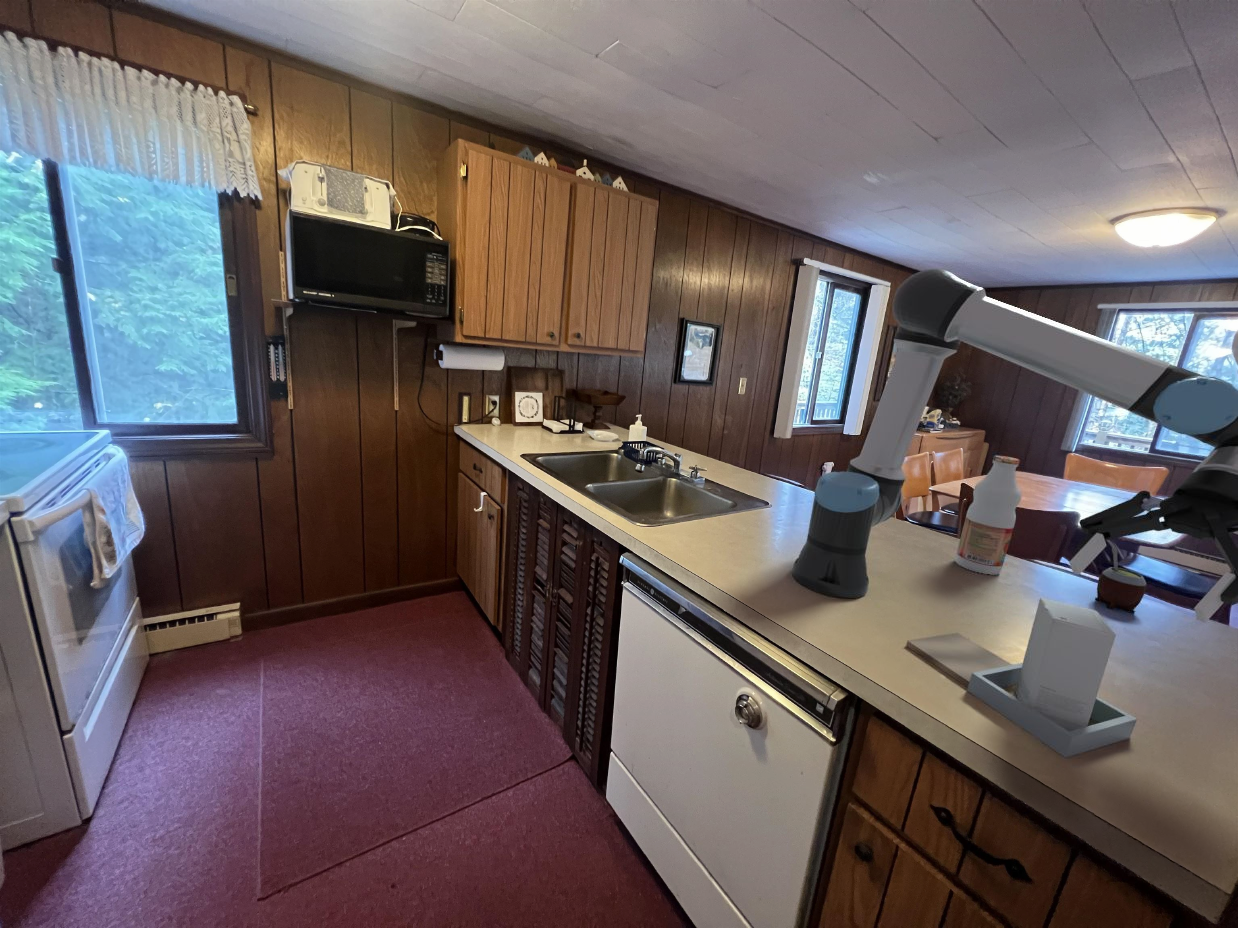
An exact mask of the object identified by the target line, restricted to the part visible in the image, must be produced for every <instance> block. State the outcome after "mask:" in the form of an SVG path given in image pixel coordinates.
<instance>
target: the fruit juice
mask: <svg viewBox="0 0 1238 928" xmlns="http://www.w3.org/2000/svg"><path fill="white" fill-rule="evenodd" d="M992 464H993V465H992V466H991V469H990V470H989V471H988V472H987V474H986V476H985V477H984V478H983V479H981V480H979V481H978V482H977V483H976V484H975V486H974V488H973V500H972V503H970V505H969V507H968V509H967V511H966V516H965V519H964V524H963V527H962V531H961V535H960V539H959V541H958V545H957V550H956V554H955V559H954V560H955V563H956V564H957V565H958V566H960V565H961V566H962V567H961V566H960V567H961V568H963V567H964V569H965V568H966V569H965V570H968V569H969V570H968V571H971V570H972V572H974V571H975V572H974V573H977V572H979V574H981V573H983V574H982V575H987V574H990V575H989V576H995V575H999V574H1000V573H1001V572H1002V570H1003V567H1004V563H1005V559H1006V557H1007V551H1008V549H1009V545H1010V542H1011V538H1012V534H1013V531H1014V528H1015V524H1016V520H1017V515H1016V509H1017V507H1018V505H1019V504H1020V502H1021V500H1022V491H1021V489H1020V488H1019V485H1018V484H1017V479H1016V478H1017V477H1016V470H1017V467H1019V465H1020V459H1018V458H1015V457H1011V456H1005V455H993V458H992Z"/></svg>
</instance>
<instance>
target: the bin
mask: <svg viewBox="0 0 1238 928" xmlns="http://www.w3.org/2000/svg"><path fill="white" fill-rule="evenodd" d="M1022 664H1023V662H1020V663H1015V664H1012V665H1009V666H1004V667H999V668H994V669H989V670H984V671H979V672H974V673H972V675H971V678H970V682H969V685H968V687H967V689H966V690H967V691H968V692H969V693H970V694H972V695H973V696H975V697H976V699H977V698H978V699H979V700H980V701H982V702H983V703H985V704H986V705H988V706H989V707H991V708H992V709H994V710H995V711H996V712H998V713H999V714H1001V716H1004V717H1005V718H1007V719H1008V720H1010V721H1011V722H1013V723H1014V724H1016V725H1017V726H1018V727H1020V728H1022V729H1023V730H1024V731H1025V732H1026V733H1029V734H1030V735H1031V736H1032V737H1034V738H1036V739H1037V740H1039V741H1040V742H1042V743H1043V744H1044V745H1046V746H1048V747H1049V748H1051V749H1052V750H1053V751H1054V752H1056V753H1058V754H1059V755H1060V756H1062V757H1064V758H1065V759H1066V758H1069V757H1072V756H1075V755H1076V756H1077V755H1078V754H1083V753H1086V752H1090V751H1092V750H1096V749H1098V748H1101V747H1102V748H1103V747H1104V746H1109V745H1112V744H1115V743H1118V742H1121V741H1125V740H1128V739H1130V738H1131V737H1132V734H1133V731H1134V729H1135V726H1136V724H1137V720H1138V718H1137V717H1135V716H1133V715H1131V714H1129V713H1127V712H1125V711H1123V710H1122V709H1120V708H1119V707H1116V706H1115V705H1113V704H1111V703H1110V702H1108V701H1105V700H1104V699H1102V698H1100V697H1099V696H1097V697H1096V700H1095V703H1094V706H1093V710H1092V713H1091V716H1090V719H1092V720H1093V721H1096V722H1097V723H1095V724H1092V725H1089V726H1087V727H1084V728H1080V729H1077V730H1073V731H1070V732H1069V731H1067V730H1066V729H1064V728H1063V727H1061V726H1059V725H1058V724H1056V723H1055V722H1053V721H1052V720H1050V719H1048V718H1047V717H1045V716H1044V715H1042V714H1041V713H1039V712H1037V711H1036V710H1034V709H1033V708H1031V707H1030V706H1028V705H1027V704H1025V703H1023V702H1022V701H1020V700H1019V699H1018V698H1017V696H1014V695H1012V694H1011V693H1010V692H1008V691H1006V690H1005V689H1003V688H1006V687H1011V686H1017V682H1018V679H1019V675H1020V671H1021V668H1022Z"/></svg>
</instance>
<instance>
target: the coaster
mask: <svg viewBox="0 0 1238 928" xmlns="http://www.w3.org/2000/svg"><path fill="white" fill-rule="evenodd" d="M905 646H906V647H908V648H909V649H910V650H912V651H913V652H914V653H916V654H918V655H919V656H921V657H922V658H924V659H925V660H927V661H928V662H929V663H931V664H933V665H934V666H935V667H937V668H939V669H940V670H941V671H943V672H944V673H946V674H947V675H949V676H950V677H952V678H953V679H954V680H955V681H957V682H959V683H961V684H962V685H963V686H965V687H966V688H968V685H969V682H970V678H971V675H972V673H974V672H979V671H984V670H989V669H994V668H999V667H1004V666H1009V665H1013V663H1010V662H1009V661H1007V660H1005V659H1003V658H1002V657H1000V656H999V655H997V654H995V653H994V652H992V651H990V650H988V649H986V648H984V647H983V646H981V645H980V644H978V643H976V642H975V641H973V640H971V639H969V638H967V637H966V636H964V635H962V634H960V633H959V632H955V633H947V634H941V635H935V636H928V637H922V638H916V639H909V640H907V641H906V645H905Z"/></svg>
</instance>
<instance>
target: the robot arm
mask: <svg viewBox="0 0 1238 928" xmlns="http://www.w3.org/2000/svg"><path fill="white" fill-rule="evenodd" d="M894 293H895V294H894V295H893V298H892V303H891V304H892V306H891V307H892V308H891V309H892V314H893V317H894V319H895V321H896V322H897V324H898V326H897V330H896V333H895V336H894V338H893V342H894V344H895V345H896V347H897V353H896V355H895V359H894V361H893V363H892V366H891V370H890V372H889V374H888V378H887V381H886V384H885V386H884V389H883V392H882V394H881V398H880V400H879V402H878V405H877V407H876V411H875V413H874V417H873V418H872V421H871V425H870V427H869V430H868V433H867V435H866V438H865V441H864V444H863V447H862V449H861V452H860V454H859V456H857V457H855V458H852V459H850V461H849V463H848V467H847V470H846V471H832V472H831V471H830V472H827V473H824V474H823V475H821V476H820V477H819V478H818V481H817V485H816V487H815V489H814V496H813V503H812V510H811V514H810V515H811V516H810V520H809V526H808V532H807V537H806V541H805V544H804V545H803V547H802V548H801V550H800V553H799V555H798V557H797V558H796V559H795V561H794V562H793V566H792V571H791V573H792V576H793V578H794V580H796V582H797V583H799V584H800V585H802V586H804V587H805V588H808V589H809V590H812V591H814V592H817V593H820V594H823V595H826V596H829V597H830V596H831V597H836V598H840V599H841V598H843V599H855V598H856V599H858V598H861V597H864V596H865V595H866V594H867V592H868V588H869V586H870V585H869V583H870V579H869V576H868V572H867V570H868V569H867V567H868V566H867V560H866V554H867V550H868V549H867V548H868V543H869V539H870V534H871V530H872V528H873V527H875V526H877V525H879V524H881V523H883V522H886V521H887V520H889V519H890V518H892V517H893V516H894V514H895V513H896V512H897V511H898V510H899V507H900V505H901V504H902V497H903V496H902V494H903V493H902V488H903V486H904V484H905V481H906V478H907V476H906V474H905V472H904V471H903V464H904V462H905V459H906V457H907V454H908V452H909V450H910V447H911V445H912V443H913V440H914V437H915V435H916V431H917V429H918V426H919V424H920V422H921V419H922V416H923V414H924V412H925V409H926V407H927V403H928V402H929V399H930V396H931V394H932V392H933V389H934V386H935V384H936V381H937V378H938V376H939V374H940V371H941V369H942V366H943V364H944V361H945V360H946V359H948V357H950V356H953V355H954V354H955V353H957V352H958V349H959V347H960V344H961V342H963V343H965V344H968V345H970V346H972V347H975V348H977V349H979V350H982V351H984V352H987V353H990V354H991V355H993V356H996V357H999V358H1002V359H1003V360H1006V361H1009V362H1011V363H1013V364H1016V365H1017V366H1021V367H1022V368H1025V369H1028V370H1030V371H1033V372H1035V373H1037V374H1039V375H1042V376H1044V377H1047V378H1049V379H1051V380H1054V381H1056V382H1059V383H1061V384H1064V385H1066V386H1068V387H1070V388H1073V389H1076V390H1078V391H1080V392H1083V393H1085V394H1088V395H1089V396H1092V397H1095V398H1096V399H1097V398H1098V399H1099V400H1102V401H1104V402H1107V403H1109V404H1111V405H1114V406H1116V407H1119V408H1121V409H1123V410H1126V411H1128V412H1131V413H1132V414H1135V415H1137V416H1138V417H1141V418H1144V419H1146V420H1148V421H1151V422H1153V423H1155V424H1158V425H1160V426H1162V427H1163V428H1165V429H1168V430H1170V431H1172V432H1175V433H1176V434H1180V435H1186V436H1188V437H1191V438H1193V439H1195V440H1198V441H1199V442H1201V443H1203V444H1206V445H1209V446H1211V447H1213V448H1214V449H1213V450H1212V451H1210V452H1209V454H1208V455H1207V456H1206V457H1205V458H1204V459H1203V460H1202V461H1201V462H1200V463H1199V464H1198V465H1197V466H1196V467H1195V468H1194V470H1193V471H1192V473H1190V474H1189V475H1187V477H1186V478H1185V479H1184V481H1182V483H1181V484H1180V485H1179V486H1178V487H1177V488H1176V489H1175V491H1174V492H1173V494H1172V495H1171V496H1169V497H1166V498H1164V499H1163V498H1158V497H1157V496H1153V495H1151V492H1150V491H1149V490H1140V491H1139V492H1138V493H1136V494H1135V495H1134V496H1133V497H1131V498H1130V499H1128V500H1126V501H1123V502H1121V503H1119V504H1116V505H1113V506H1111V507H1108V508H1106V509H1104V510H1101V511H1098V512H1097V513H1094V514H1092V515H1090V516H1089V515H1088V516H1086V517H1085V518H1082V519H1080V520H1079V521H1078V522H1079V526H1080V528H1081V531H1082V533H1083V534H1085V536H1084V537H1083V538H1082V539H1081V540H1080V541H1079V542H1078V543H1077V547H1076V548H1077V550H1078V552H1077V553H1076V554H1075V556H1073V557H1072V558H1071V560H1070V561H1069V562H1068V563H1069V565H1070V569H1071V571H1072V573H1073V574H1075V575H1078V576H1080V574H1082V572H1084V571H1085V570H1086V568H1087V567H1089V565H1090V564H1091V563H1092V562H1093V561H1094V560H1095V559H1096V557H1098V555H1099V554H1100V553H1102V551H1104V549H1105V548H1106V547H1107V543H1106V542H1107V540H1109V541H1111V540H1114V539H1119V538H1124V537H1128V536H1133V535H1137V534H1141V533H1142V534H1143V533H1147V532H1151V531H1152V532H1153V531H1156V532H1162V531H1166V530H1170V531H1171V532H1173V533H1176V534H1181V535H1182V534H1183V535H1188V536H1191V537H1192V538H1195V539H1199V540H1203V539H1212V541H1213V543H1214V544H1215V546H1216V548H1218V550H1219V552H1220V553H1221V555H1222V557H1223V559H1224V560H1225V563H1226V564H1227V566H1228V567H1229V569H1230V571H1231V572H1225V573H1224V574H1223V575H1222V576H1221V577H1220V579H1218V581H1217V582H1216V583H1215V584H1214V585H1213V587H1212V588H1211V589H1210V590H1209V591H1208V592H1207V593H1206V594H1205V595H1204V596H1203V597H1202V599H1201V600H1200V601H1199V602H1198V603H1197V604H1196V606H1194V613H1195V616H1196V621H1199V622H1202V623H1204V624H1206V623H1207V622H1208V620H1210V619H1211V617H1212V616H1213V615H1214V614H1215V613H1216V611H1218V610H1219V609H1220V607H1221V606H1222V605H1223V604H1228V605H1231V606H1234V605H1236V604H1237V605H1238V546H1237V545H1236V544H1235V542H1234V539H1232V537H1231V535H1230V534H1232V533H1237V532H1238V389H1237V388H1236V387H1235V386H1234V385H1233V384H1232V383H1230V382H1227V381H1226V380H1224V379H1220V378H1218V377H1214V376H1206V375H1203V374H1200V373H1197V372H1194V371H1191V370H1189V369H1186V368H1184V367H1180V366H1177V365H1174V364H1171V363H1170V362H1167V361H1164V360H1162V359H1159V358H1156V357H1153V356H1151V355H1148V354H1145V353H1142V352H1139V351H1136V350H1134V349H1132V348H1128V347H1126V346H1123V345H1120V344H1118V343H1115V342H1112V341H1109V340H1107V339H1105V338H1100V337H1098V336H1096V335H1092V334H1090V333H1087V332H1085V331H1082V330H1078V329H1076V328H1074V327H1071V326H1068V325H1065V324H1063V323H1059V322H1056V321H1054V320H1051V319H1049V318H1045V317H1042V316H1040V315H1037V314H1036V313H1032V312H1028V311H1027V310H1024V309H1020V308H1018V307H1015V306H1013V305H1010V304H1007V303H1004V302H1001V301H998V300H996V299H993V298H991V297H988V296H987V294H986V290H985V288H983V287H980V286H978V285H974V284H973V283H970V282H967V281H966V280H963V279H961V278H959V277H958V276H957V275H955V274H954V273H952V272H951V271H948V270H947V269H946V270H945V269H941V268H940V269H939V268H930V269H924V270H921V271H919V272H916V273H914V274H912V275H910V276H909V277H908V278H906V279H905V280H904V281H903V282H902V283H901V284H900V285H899V286H898V288H897V290H896V291H895V292H894ZM1144 512H1147V513H1144ZM1143 513H1144V514H1143ZM1140 514H1141V515H1140ZM1162 518H1163V520H1161V519H1162ZM1160 520H1161V521H1160Z"/></svg>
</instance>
